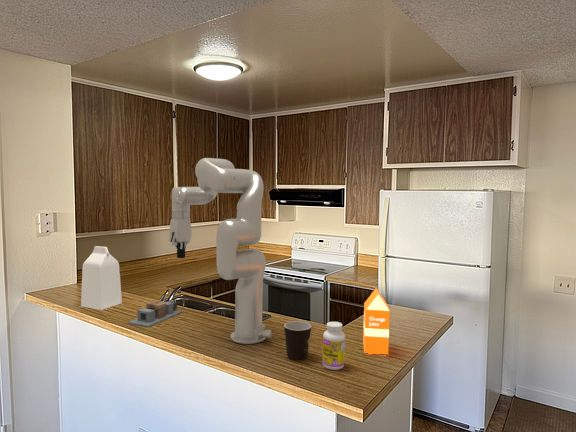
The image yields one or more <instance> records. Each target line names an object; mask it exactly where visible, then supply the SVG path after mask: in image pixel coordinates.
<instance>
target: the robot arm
mask: <svg viewBox="0 0 576 432" xmlns="http://www.w3.org/2000/svg"><path fill="white" fill-rule="evenodd" d="M194 173H195V176H196V178H197V184H198V185H197V186H175V187H173V188H172V189H171V219H170V223H169V232H168V241H169V242H170V243H171V246H173V247H175V249H176V258H178V259H185V258H186V248H187V245H188V244H189V243H191V242H190V241H191V240H192V223H191V216H190V215H191V208H190V207H191V206H193V205H196V206H197V205H206V204H209V203H210V202H212V201H213V200H215V198H216V197H217V195H218V193H219V194H220V193H221V194H242V195H241V196H240V198H239V200H238V202H237V205H236V218H227V219H224V220H222V221H221V222H220V223H219V225H218V227H217V231H216V236H215V237H216V238H215V239H216V242H215V243H216V245H215V247H216V268H217V273H218V275H219V277H220V278H221V279H223V280H225V281H230V280H236V279H237V282H236V285H235V291H234V293H235V294H234V295H235V297H234V298H235V299H234V306H235V307H234V311H235V312H234V313H235V314H234V331H233V332H232V333H230V340H231V341H232V342H234V343H237V344H242V345H253V344H259V343H261V342H263V341H265V340H266V339H267V338H268V339H269V338H272V335H273V334H272V330H271V329H266V328H265V327H266V325H265V324H263V291H264V289H263V287H264V285H263V283H264V278H265V277H264V276H265V271H266V265H267V260H266V259H267V258H266V256H265V254H264V253H263V252H262V250H260V249H256V248H245V249H238V248H239V247H245V246H253V245H257V244H259V242H260V241H261V238H262V204H263V196H264V188H265V187H264V181H263V178H262V177H261V175H260V174H259V172H257V171H254V170H251V169H243V168H235V165H234V164H233V163H232V162H231V161H230V160H228V159H224V158H216V157H215V158H214V157H204V158H201V159H200V160H199V161H198V162H197V163H196V164H195V169H194ZM237 249H238V250H237Z"/></svg>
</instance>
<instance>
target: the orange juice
mask: <svg viewBox="0 0 576 432" xmlns="http://www.w3.org/2000/svg"><path fill="white" fill-rule="evenodd" d="M363 305H364V306H363V308H364V309H363V336H362V337H363V340H362V345H364V346H363V354H364V353H368V354H367V355H372V354H388V355H389V339H390V308H389V306H388V303H387V302H386V300H385V299H384V297H383V295H382V294H381V293H380V291H379V290H378V288H377V287H375V289H374V290H373V291H372V292H371V294H370V295H369V297H368V298H367V299H366V300H365V302H364V303H363Z"/></svg>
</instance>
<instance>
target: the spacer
mask: <svg viewBox="0 0 576 432" xmlns="http://www.w3.org/2000/svg"><path fill="white" fill-rule="evenodd" d="M145 305H146V306H145V309H151V310H155V309H157V319H161V318H163V317H165V316H166V303H162V302H161V301H154V300H153V301H149V302H147V303H146V304H145ZM146 317H147V316H146Z"/></svg>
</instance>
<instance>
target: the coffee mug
mask: <svg viewBox="0 0 576 432" xmlns="http://www.w3.org/2000/svg"><path fill="white" fill-rule="evenodd" d="M283 327H284V328H283V329H284V336H285V337H284V339H285V348H286V358H287V359H289V360H291V361H295V362H296V361H297V362H300V361H305V360H306V359H307V358H308V355H309V354H308V353H309V346H310V341H311V340H310V338H311V331H312V325H311V323H309V322H306V321H303V320H302V321H301V320H296V321H295V320H292V321H287V322H286V323H284V325H283Z"/></svg>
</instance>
